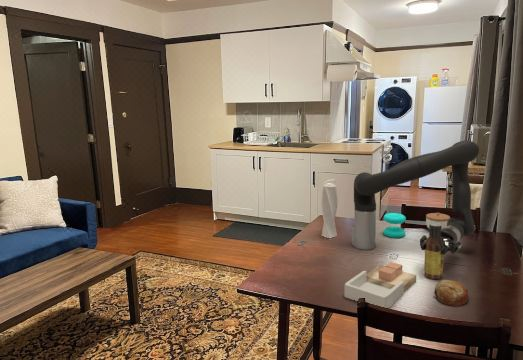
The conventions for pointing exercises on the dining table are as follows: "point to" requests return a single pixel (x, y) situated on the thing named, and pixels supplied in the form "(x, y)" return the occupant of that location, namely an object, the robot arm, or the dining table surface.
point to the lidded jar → (437, 219)
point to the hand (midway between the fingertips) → (432, 249)
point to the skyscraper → (329, 209)
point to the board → (404, 277)
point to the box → (372, 291)
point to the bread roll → (451, 293)
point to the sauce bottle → (434, 253)
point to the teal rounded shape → (392, 230)
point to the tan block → (395, 267)
